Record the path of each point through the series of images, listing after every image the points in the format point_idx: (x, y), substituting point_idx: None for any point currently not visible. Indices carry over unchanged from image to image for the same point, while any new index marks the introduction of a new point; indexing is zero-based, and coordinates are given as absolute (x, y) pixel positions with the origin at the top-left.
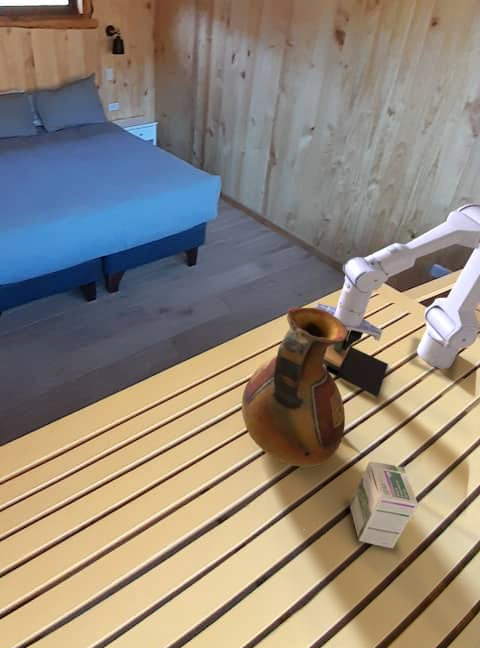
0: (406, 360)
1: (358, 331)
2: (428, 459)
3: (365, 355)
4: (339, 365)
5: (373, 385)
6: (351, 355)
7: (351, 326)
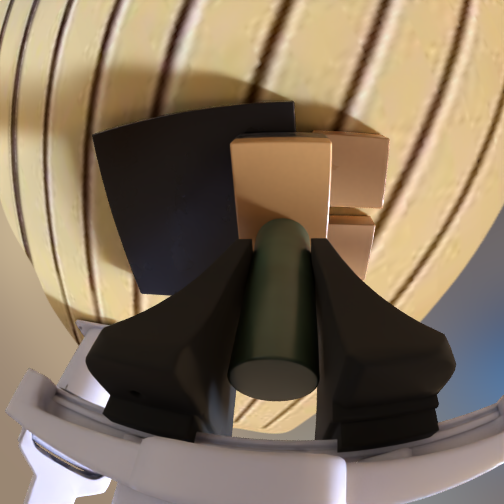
0: None
1: (135, 413)
2: (6, 87)
3: None
4: (236, 139)
5: (118, 174)
6: None
7: (146, 496)
